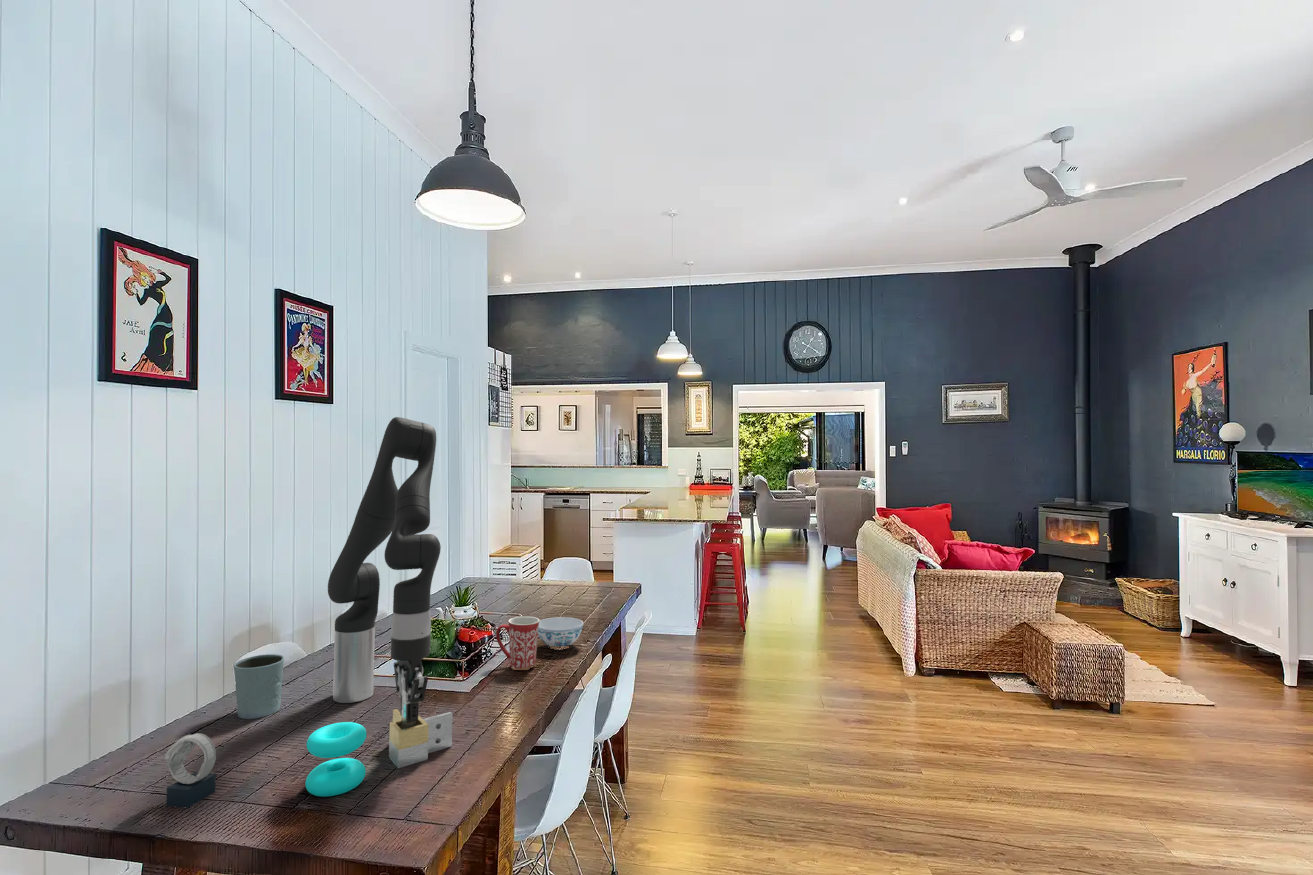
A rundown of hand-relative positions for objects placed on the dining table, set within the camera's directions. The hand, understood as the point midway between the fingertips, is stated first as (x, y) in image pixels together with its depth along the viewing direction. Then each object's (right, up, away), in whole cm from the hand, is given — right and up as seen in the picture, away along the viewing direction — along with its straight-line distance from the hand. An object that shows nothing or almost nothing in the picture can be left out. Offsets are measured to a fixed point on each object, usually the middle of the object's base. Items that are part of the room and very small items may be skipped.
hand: (409, 717), depth 127 cm
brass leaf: (-2, -8, +2) cm, 9 cm away
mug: (+10, -10, +55) cm, 57 cm away
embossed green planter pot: (-44, -8, +21) cm, 50 cm away
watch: (-33, -8, -16) cm, 37 cm away
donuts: (-9, -8, -11) cm, 16 cm away
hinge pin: (0, -4, 0) cm, 4 cm away
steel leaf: (+2, -8, +2) cm, 9 cm away
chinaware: (+19, -10, +73) cm, 76 cm away
